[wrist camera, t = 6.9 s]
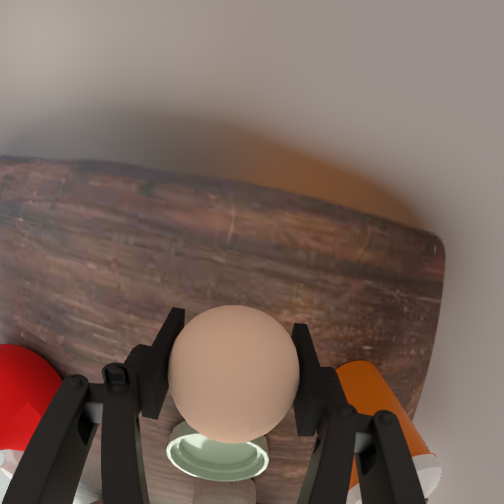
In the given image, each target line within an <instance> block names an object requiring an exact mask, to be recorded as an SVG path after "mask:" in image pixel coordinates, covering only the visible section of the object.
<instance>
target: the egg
mask: <svg viewBox="0 0 504 504" xmlns="http://www.w3.org/2000/svg"><path fill="white" fill-rule="evenodd" d="M299 382H300V375H299V361H298V356H297V352H296V348H295V345H294V343H293V341H292V339H291V337H290V335H289V334H288V333H287V331H286V330H285V329H284V328H283V326H282V325H281V324H279V323H278V322H277V321H276V320H275V319H274V318H272V317H271V316H269V315H268V314H266V313H264V312H262V311H260V310H257V309H254V308H250V307H246V306H242V305H224V306H220V307H216V308H212V309H209V310H207V311H205V312H203V313H201V314H200V315H198V316H196V317H195V318H193V319H192V320H191V321H190V322H189V323H188V324H187V325H186V326H185V327H184V328H183V330H182V331H181V332H180V334H179V335H178V337H177V338H176V340H175V342H174V345H173V348H172V350H171V353H170V356H169V365H168V383H169V389H170V392H171V394H172V397H173V400H174V402H175V404H176V407H177V409H178V411H179V412H180V413H181V415H182V416H183V418H184V419H185V420H186V422H187V423H188V424H189V425H190V426H191V427H192V428H194V429H195V430H196V431H198V432H199V433H201V434H202V435H203V436H205V437H207V438H209V439H212V440H216V441H219V442H223V443H242V442H248V441H251V440H253V439H256V438H258V437H260V436H263V435H265V434H267V433H268V432H269V431H271V430H272V429H273V428H274V427H275V426H276V425H277V424H278V423H279V422H280V421H281V420H282V419H283V418H284V417H285V415H286V413H287V412H288V410H289V408H290V407H291V405H292V403H293V401H294V399H295V397H296V393H297V390H298V386H299Z"/></svg>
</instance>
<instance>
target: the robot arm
mask: <svg viewBox="0 0 504 504" xmlns="http://www.w3.org/2000/svg"><path fill="white" fill-rule="evenodd" d="M184 318H185V309H181V308H174V307H173V308H172V309H171V311H170V313H169V315H168V317H167V319H166V320H165V322H164V324H163V326H162V328H161V329H160V331H159V333H158V335H157V337H156V339H155V341H154V342H153V344H152V346H146V345H142V344H139V345H137V346H136V347H134V348H133V349H132V351H131V352H130V354H129V356H128V357H127V359H126V360H125V362H124V364H123V363H110V364H108V365H106V366H105V367H104V368H103V370H102V375H103V379H104V384H95V383H89V382H88V379H87V378H86V377H85V376H82V375H79V374H73V375H69V376H67V377H66V378H65V379H64V380H63V382H62V383H61V385H60V387H59V388H58V390H57V392H56V393H55V395H54V397H53V399H52V400H51V402H50V404H49V406H48V407H47V409H46V411H45V413H44V415H43V416H42V418H41V420H40V422H39V424H38V426H37V427H36V429H35V431H34V433H33V435H32V437H31V439H30V441H29V443H28V445H27V447H26V449H25V451H24V453H23V455H22V457H21V459H20V461H19V464H18V466H17V468H16V470H15V472H14V475H13V477H12V479H11V482H10V484H9V486H8V489H7V491H6V494H5V496H4V499H3V501H2V504H72V503H73V500H74V496H75V493H76V490H77V486H78V483H79V480H80V477H81V474H82V470H83V467H84V464H85V461H86V458H87V455H88V452H89V450H90V447H91V444H92V441H93V438H94V436H95V433H96V430H97V427H98V425H99V424H102V434H101V476H102V497H103V504H150V503H149V497H148V491H147V485H146V479H145V472H144V464H143V456H142V447H141V436H140V424H139V417H138V416H139V413H140V411H141V412H142V416H144V417H148V418H152V419H156V420H157V419H158V416H159V413H160V411H161V408H162V405H163V402H164V399H165V396H166V393H167V391H168V388H169V383H168V365H169V356H170V353H171V350H172V348H173V345H174V342H175V340H176V338H177V337H178V335H179V334H180V332H181V331H182V330H183V328H184ZM291 339H292V341H293V343H294V345H295V348H296V352H297V356H298V361H299V375H300V382H299V386H298V390H297V393H296V397H295V399H294V401H293V406H294V413H295V419H296V426H297V433H298V436H313V435H314V433H315V431H316V429H317V434H318V437H317V439H316V441H315V443H314V445H313V447H312V449H311V450H313V452H312V455H311V459H310V462H309V466H308V469H307V473H306V476H305V479H304V483H303V486H302V489H301V492H300V495H299V498H298V501H297V504H346V501H347V496H348V490H349V485H350V478H351V472H352V465H353V458H354V456H355V462H356V468H357V474H358V480H359V486H360V493H361V500H362V504H426V501H425V497H424V494H423V491H422V487H421V484H420V481H419V477H418V474H417V471H416V468H415V465H414V462H413V459H412V456H411V453H410V450H409V447H408V444H407V442H406V439H405V436H404V433H403V430H402V428H401V425H400V422H399V420H398V418H397V416H396V415H395V414H394V413H393V412H391V411H388V410H379V411H377V412H376V413H375V414H374V416H371V415H365V414H361V413H358V412H357V409H356V408H355V407H354V406H353V405H351V404H349V403H348V401H347V398H346V396H345V393H344V390H343V388H342V386H341V382H340V381H339V377H338V374H337V372H336V371H335V370H334V369H333V368H332V367H320V365H319V361H318V358H317V355H316V352H315V349H314V346H313V343H312V339H311V336H310V333H309V330H308V327H307V324H299V323H294V328H293V332H292V336H291Z"/></svg>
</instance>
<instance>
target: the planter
mask: <svg viewBox="0 0 504 504" xmlns="http://www.w3.org/2000/svg"><path fill="white" fill-rule="evenodd" d="M193 504H256V484H255V482H254V481H253V480H252V479H250V478H249V479H245V480H240V481H230V482H220V481H211V480H206V479H202V478H198V477H197V479H196V481H195V488H194V496H193Z"/></svg>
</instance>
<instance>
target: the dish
mask: <svg viewBox="0 0 504 504" xmlns="http://www.w3.org/2000/svg"><path fill="white" fill-rule="evenodd" d="M166 451H167V457H168V458H169V460H170V461H171V462H172V464H173V465H175V466H176V467H177V468H179V469H180V470H182V471H183V472H185V473H188V474H190V475H192V476H195V477H198V478H202V479H206V480H211V481H220V482H230V481H240V480H245V479H249V478H252V477H254V476H256V475H259V474H260V473H261V472H263V471H264V470H265V469H266V468H267V465H268V463H269V449H268V443H267V440H266V438H265V437H264V436H260V437H258V438H256V439H253V440H251V441H248V442H242V443H223V442H219V441H216V440H212V439H209V438H207V437H205V436H203V435H202V434H201V433H199V432H198V431H196V430H195V429H194V428H192V427H191V426H190V425H189V424H188V423H187V422H186V421H183V422H181V423H180V424H178V425H177V426H175V427H174V428H173V430H172V432H171V433H170V436H169V440H168V444H167V448H166Z"/></svg>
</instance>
